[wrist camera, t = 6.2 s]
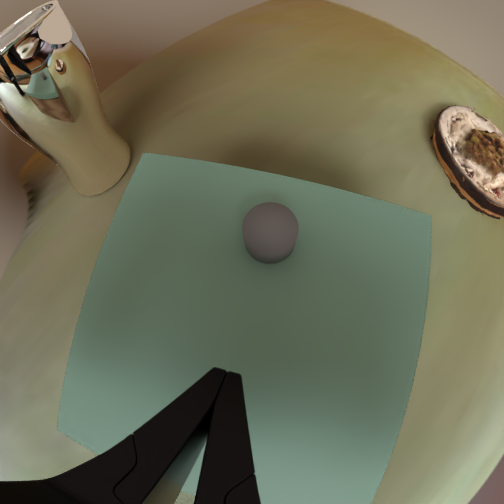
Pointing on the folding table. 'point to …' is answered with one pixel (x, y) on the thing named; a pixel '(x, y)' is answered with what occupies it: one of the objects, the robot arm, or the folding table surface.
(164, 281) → the lid
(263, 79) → the folding table surface
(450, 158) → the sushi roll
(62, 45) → the beer glass
